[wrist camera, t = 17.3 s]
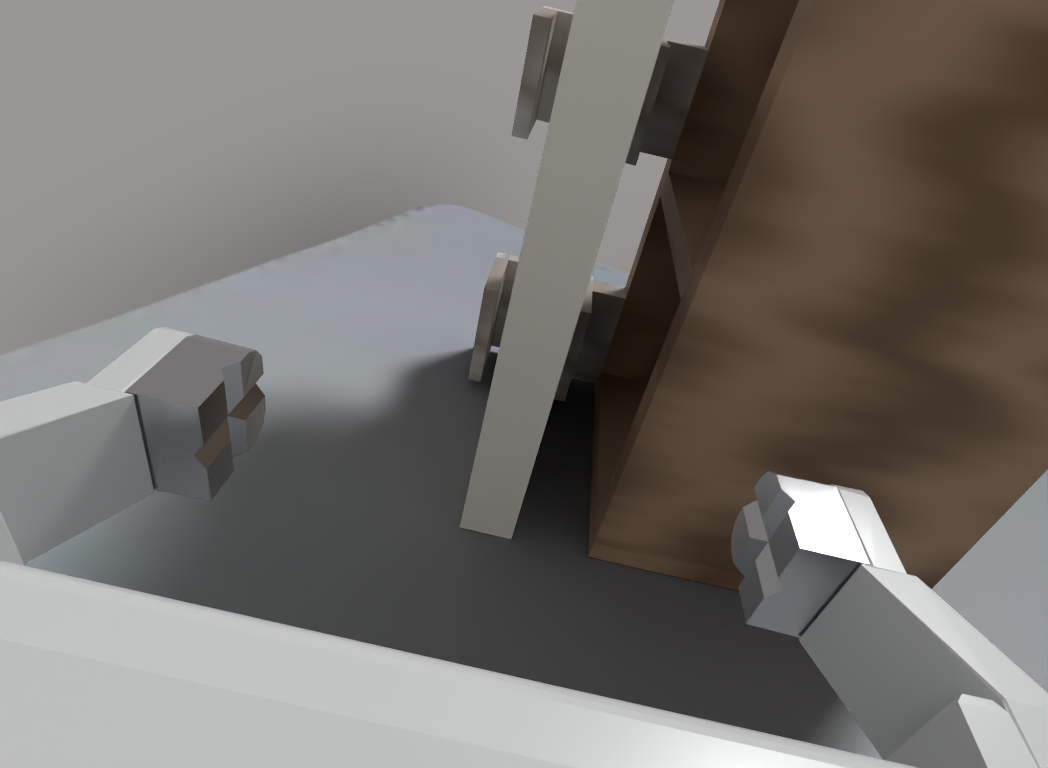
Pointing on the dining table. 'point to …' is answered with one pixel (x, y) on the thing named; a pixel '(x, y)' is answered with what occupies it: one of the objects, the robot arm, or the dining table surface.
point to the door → (562, 241)
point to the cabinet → (819, 277)
